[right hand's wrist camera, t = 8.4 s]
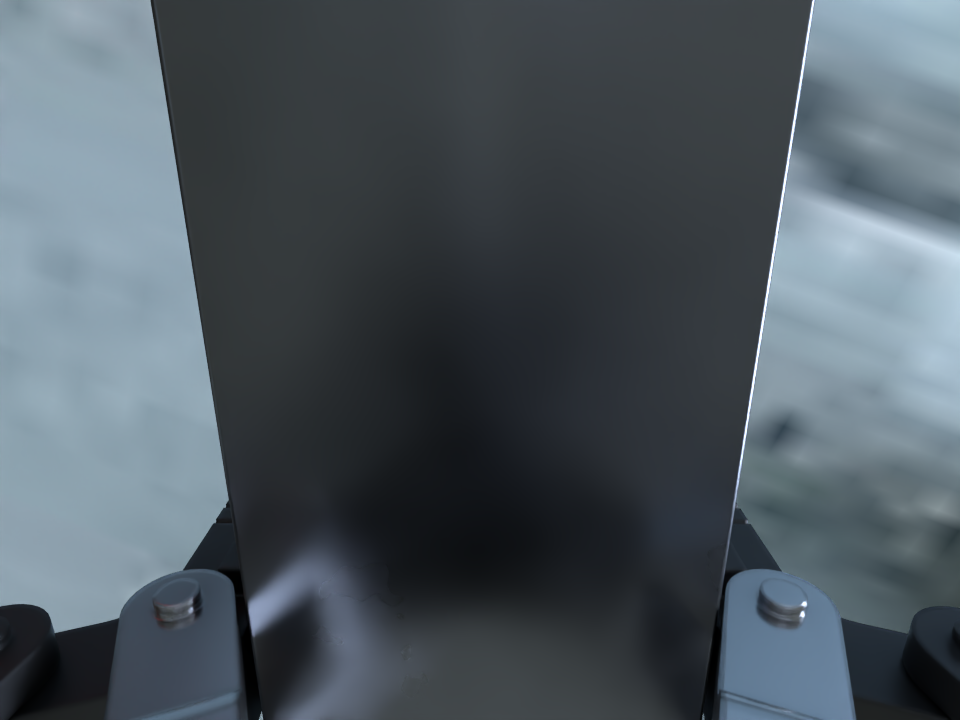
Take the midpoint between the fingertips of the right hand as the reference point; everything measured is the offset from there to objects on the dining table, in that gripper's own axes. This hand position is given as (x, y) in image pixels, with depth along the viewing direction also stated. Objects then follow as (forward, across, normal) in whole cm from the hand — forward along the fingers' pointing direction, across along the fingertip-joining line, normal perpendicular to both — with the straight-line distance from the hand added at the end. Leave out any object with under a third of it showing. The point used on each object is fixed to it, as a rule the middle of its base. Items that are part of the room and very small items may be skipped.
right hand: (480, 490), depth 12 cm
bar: (+4, 0, -8) cm, 9 cm away
